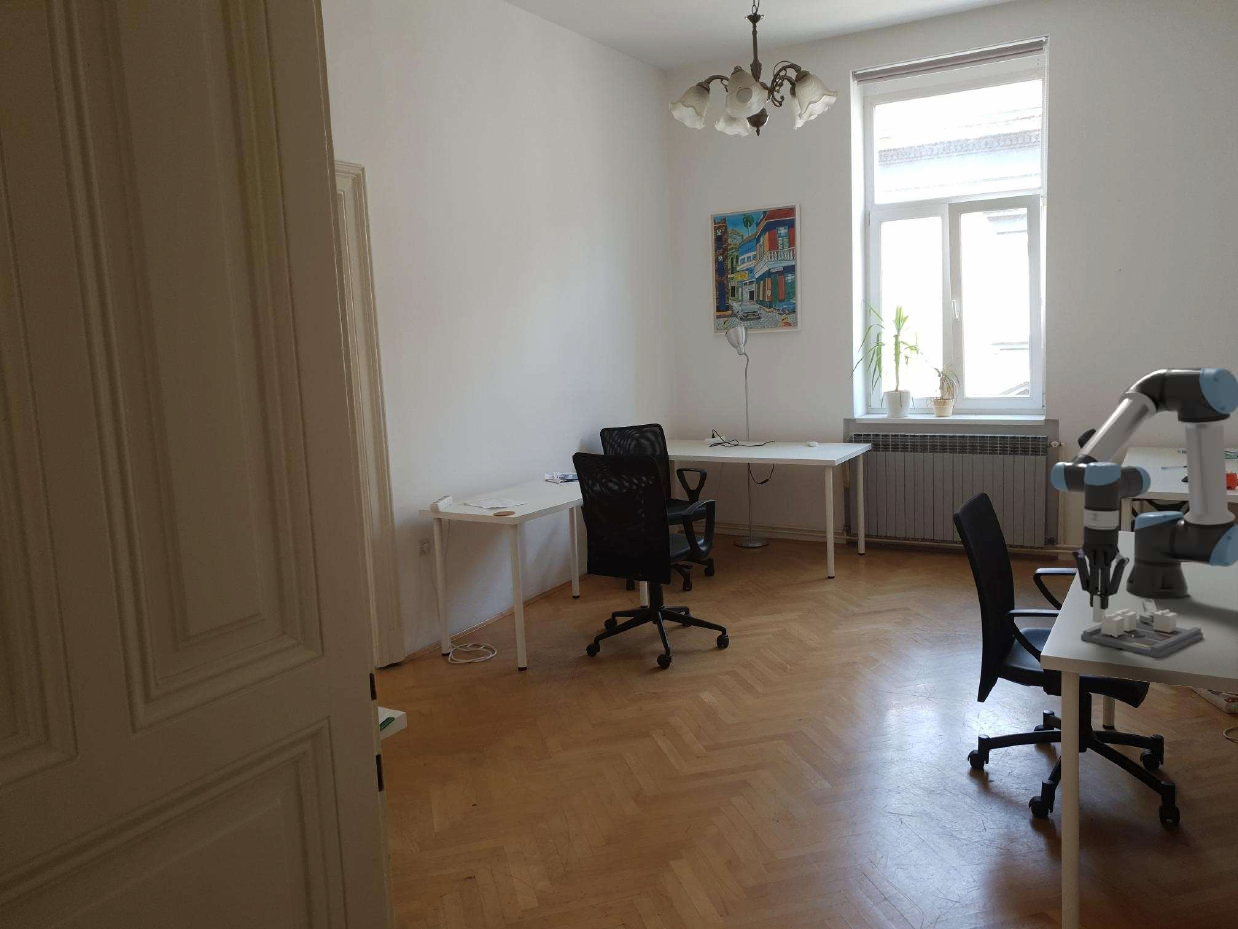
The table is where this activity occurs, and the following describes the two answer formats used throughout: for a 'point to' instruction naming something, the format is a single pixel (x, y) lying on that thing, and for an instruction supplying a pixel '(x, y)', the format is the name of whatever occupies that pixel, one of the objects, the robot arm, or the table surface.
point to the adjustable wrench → (1148, 611)
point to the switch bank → (1145, 639)
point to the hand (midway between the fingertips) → (1098, 621)
